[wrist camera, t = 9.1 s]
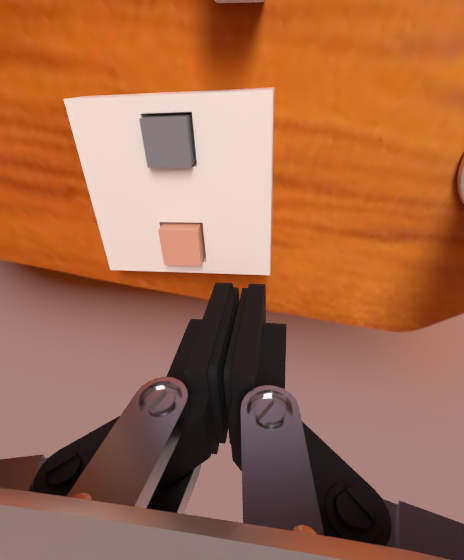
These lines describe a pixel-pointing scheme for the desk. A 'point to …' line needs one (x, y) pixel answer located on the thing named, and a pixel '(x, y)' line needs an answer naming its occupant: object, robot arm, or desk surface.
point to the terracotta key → (182, 243)
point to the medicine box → (238, 1)
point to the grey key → (168, 140)
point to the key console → (181, 177)
